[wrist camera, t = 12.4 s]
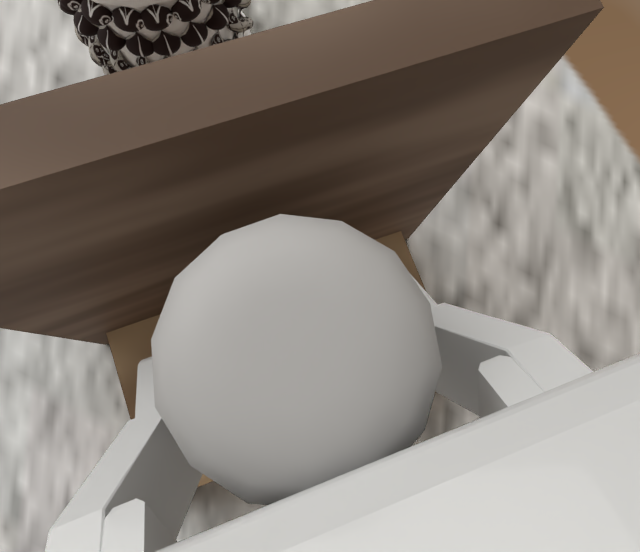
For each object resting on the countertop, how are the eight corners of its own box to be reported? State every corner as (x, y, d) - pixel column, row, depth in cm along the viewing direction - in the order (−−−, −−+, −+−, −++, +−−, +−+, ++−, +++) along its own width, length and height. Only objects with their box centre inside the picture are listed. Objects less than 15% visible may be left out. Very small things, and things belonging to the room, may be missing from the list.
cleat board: (463, 373, 24) (803, 373, 8) (149, 498, 22) (-232, 824, 6) (397, 213, 25) (569, -55, 9) (97, 315, 23) (-314, 192, 7)
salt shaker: (395, 340, 19) (590, 282, 6) (323, 469, 18) (388, 704, 5) (272, 267, 20) (230, 75, 7) (195, 388, 18) (-29, 432, 6)
